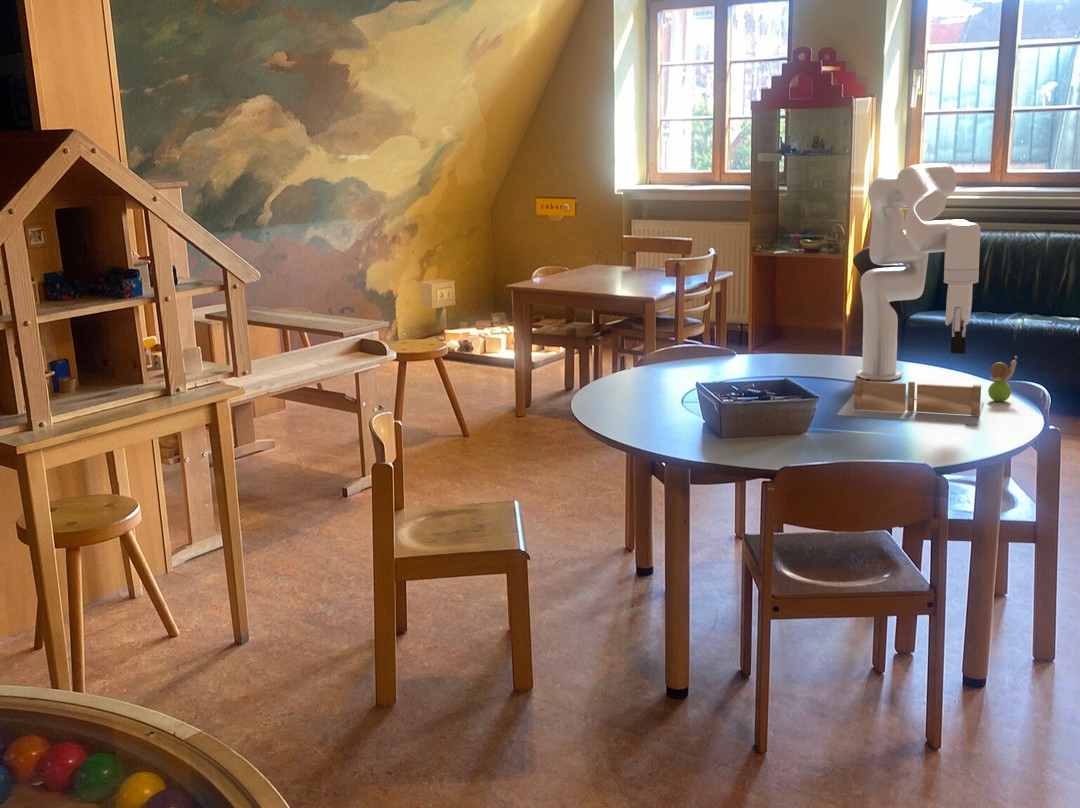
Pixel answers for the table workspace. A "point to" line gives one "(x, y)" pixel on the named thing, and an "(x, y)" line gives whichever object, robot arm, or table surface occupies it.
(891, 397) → the fixed fence section
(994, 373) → the snail figurine
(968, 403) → the hinged fence panel
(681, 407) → the table surface
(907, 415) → the card
